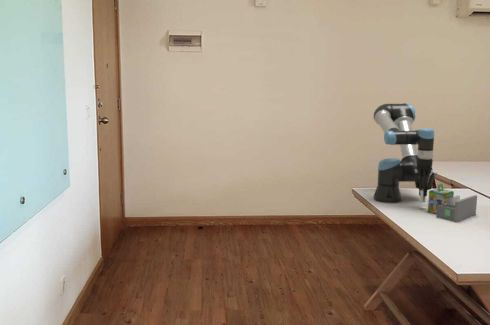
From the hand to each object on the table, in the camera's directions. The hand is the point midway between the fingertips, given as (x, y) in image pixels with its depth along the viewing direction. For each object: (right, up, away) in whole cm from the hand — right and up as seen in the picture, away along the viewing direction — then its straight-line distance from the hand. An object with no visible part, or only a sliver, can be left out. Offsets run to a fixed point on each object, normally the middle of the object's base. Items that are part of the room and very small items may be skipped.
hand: (422, 201), depth 244 cm
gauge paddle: (+9, -5, -12) cm, 16 cm away
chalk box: (+6, -5, -7) cm, 11 cm away
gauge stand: (+12, -6, -13) cm, 19 cm away
